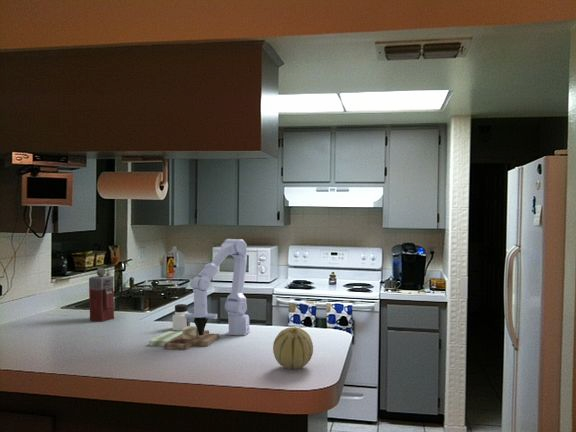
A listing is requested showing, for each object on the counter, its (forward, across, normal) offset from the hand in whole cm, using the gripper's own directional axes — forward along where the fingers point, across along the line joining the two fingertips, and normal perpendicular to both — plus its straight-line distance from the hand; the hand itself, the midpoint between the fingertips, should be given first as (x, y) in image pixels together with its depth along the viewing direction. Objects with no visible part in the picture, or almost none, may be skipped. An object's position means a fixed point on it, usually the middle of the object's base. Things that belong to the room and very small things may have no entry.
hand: (201, 334), depth 228 cm
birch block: (+1, -4, 0) cm, 5 cm away
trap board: (+3, -6, 0) cm, 7 cm away
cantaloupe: (+3, +48, -32) cm, 57 cm away
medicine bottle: (+3, -19, +23) cm, 30 cm away
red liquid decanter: (+3, -71, +39) cm, 81 cm away
